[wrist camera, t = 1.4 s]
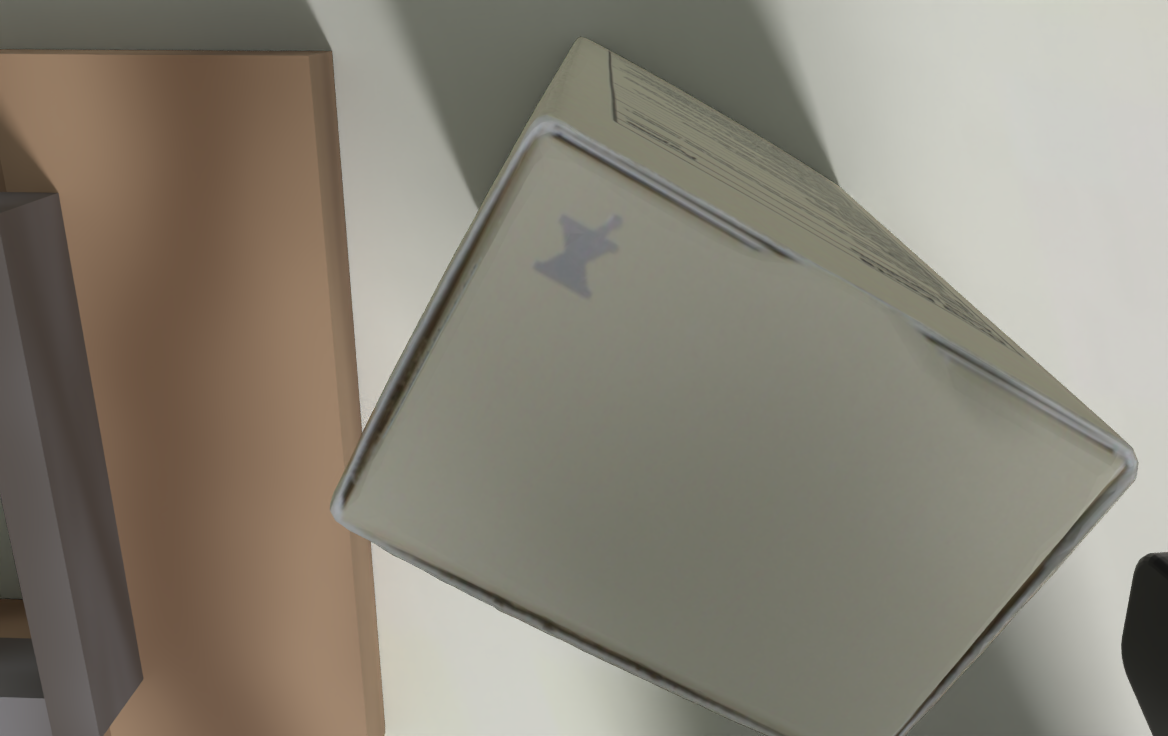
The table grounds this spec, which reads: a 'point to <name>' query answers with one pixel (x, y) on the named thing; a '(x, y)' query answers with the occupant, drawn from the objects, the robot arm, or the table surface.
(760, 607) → the skincare box
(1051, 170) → the table surface
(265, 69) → the serum stand
